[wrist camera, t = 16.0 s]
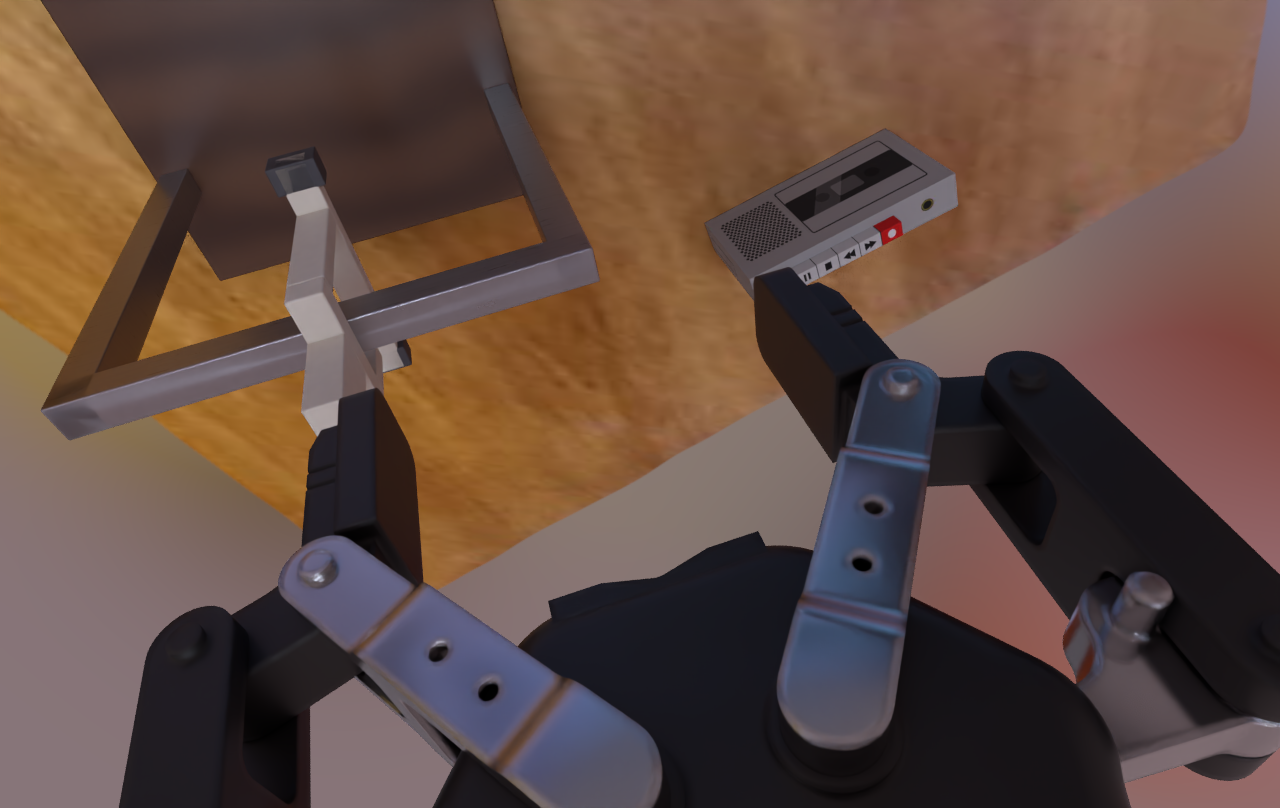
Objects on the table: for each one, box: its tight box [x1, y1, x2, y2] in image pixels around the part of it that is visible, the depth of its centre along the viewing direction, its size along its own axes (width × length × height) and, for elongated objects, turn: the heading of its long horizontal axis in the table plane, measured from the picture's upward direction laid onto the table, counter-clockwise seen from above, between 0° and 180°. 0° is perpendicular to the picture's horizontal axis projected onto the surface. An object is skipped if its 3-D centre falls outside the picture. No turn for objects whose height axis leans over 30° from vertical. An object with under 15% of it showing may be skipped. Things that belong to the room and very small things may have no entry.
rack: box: [41, 0, 600, 440], centre depth 33 cm, size 26×22×24 cm
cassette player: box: [705, 129, 958, 300], centre depth 54 cm, size 16×3×10 cm, turn 112°
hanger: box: [265, 146, 412, 437], centre depth 30 cm, size 11×2×13 cm, turn 10°
